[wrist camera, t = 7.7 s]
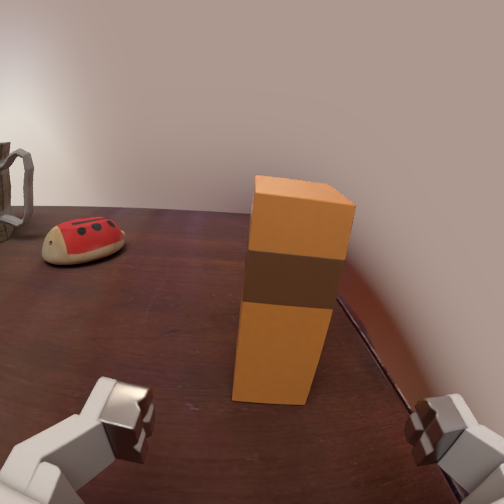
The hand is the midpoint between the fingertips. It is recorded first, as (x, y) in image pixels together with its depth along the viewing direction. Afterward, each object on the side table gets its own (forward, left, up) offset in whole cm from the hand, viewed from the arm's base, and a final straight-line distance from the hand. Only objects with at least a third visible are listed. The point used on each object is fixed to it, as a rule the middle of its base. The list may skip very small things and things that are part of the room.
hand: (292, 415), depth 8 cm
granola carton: (+8, 0, -6) cm, 10 cm away
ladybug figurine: (+22, +19, -6) cm, 30 cm away
